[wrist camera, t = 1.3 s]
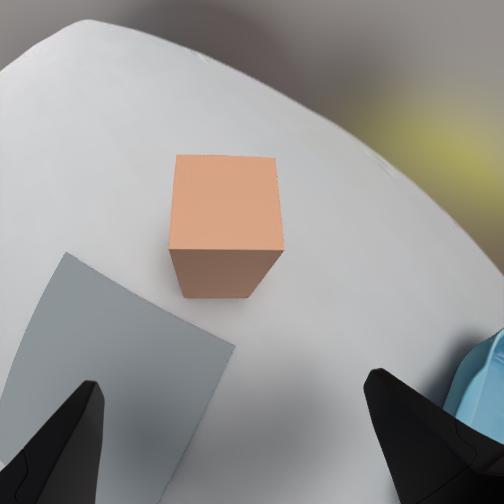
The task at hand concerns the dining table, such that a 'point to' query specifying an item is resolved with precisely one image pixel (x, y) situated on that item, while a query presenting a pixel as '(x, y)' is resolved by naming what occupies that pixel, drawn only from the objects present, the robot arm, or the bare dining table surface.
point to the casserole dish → (480, 389)
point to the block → (224, 224)
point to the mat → (113, 378)
